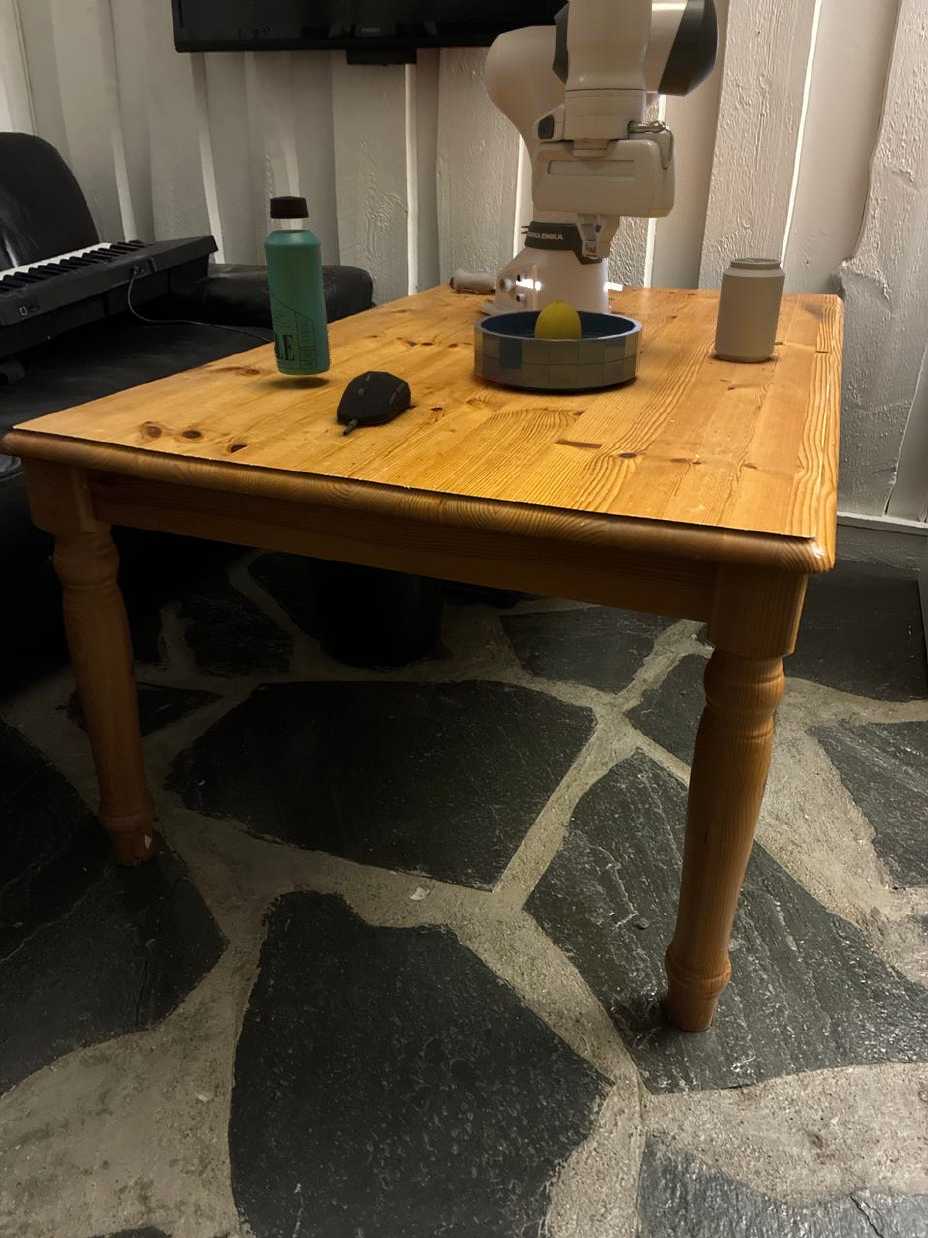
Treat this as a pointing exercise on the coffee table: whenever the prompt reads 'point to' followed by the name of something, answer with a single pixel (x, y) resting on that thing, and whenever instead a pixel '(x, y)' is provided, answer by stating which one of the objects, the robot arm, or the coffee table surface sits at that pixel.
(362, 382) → the gaming mouse
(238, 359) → the coffee table surface
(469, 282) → the smooth white sculpture
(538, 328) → the lemon
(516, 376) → the bowl
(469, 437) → the coffee table surface
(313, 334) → the beverage bottle
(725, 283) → the can
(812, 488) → the coffee table surface
